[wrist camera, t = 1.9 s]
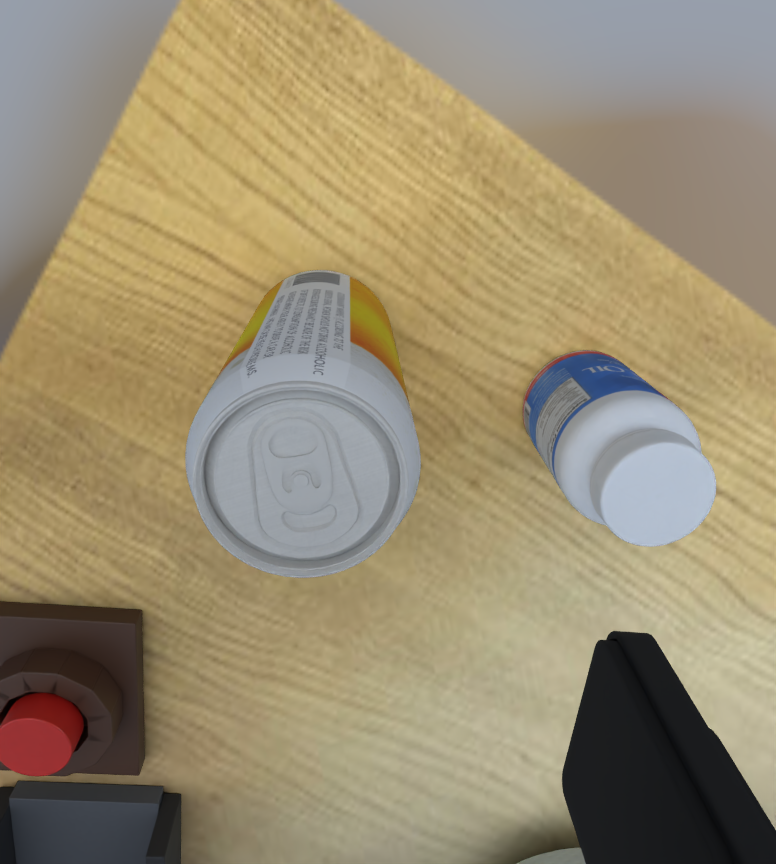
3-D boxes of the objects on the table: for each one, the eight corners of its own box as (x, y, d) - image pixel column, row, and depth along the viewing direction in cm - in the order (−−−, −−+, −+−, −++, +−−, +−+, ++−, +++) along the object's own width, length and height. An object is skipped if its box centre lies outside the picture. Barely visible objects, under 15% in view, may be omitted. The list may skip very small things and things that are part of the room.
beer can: (269, 411, 32) (210, 608, 19) (238, 279, 30) (144, 390, 16) (400, 389, 32) (439, 571, 19) (379, 255, 30) (405, 347, 16)
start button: (12, 746, 36) (-4, 775, 34) (5, 690, 34) (-12, 716, 33) (85, 750, 36) (73, 778, 34) (82, 693, 35) (69, 720, 33)
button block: (-4, 752, 39) (-32, 798, 36) (-22, 599, 35) (-54, 637, 33) (145, 758, 40) (129, 804, 37) (142, 609, 36) (125, 647, 33)
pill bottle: (657, 379, 33) (774, 467, 24) (592, 473, 35) (678, 589, 25) (559, 325, 32) (643, 396, 23) (497, 426, 33) (551, 529, 24)
